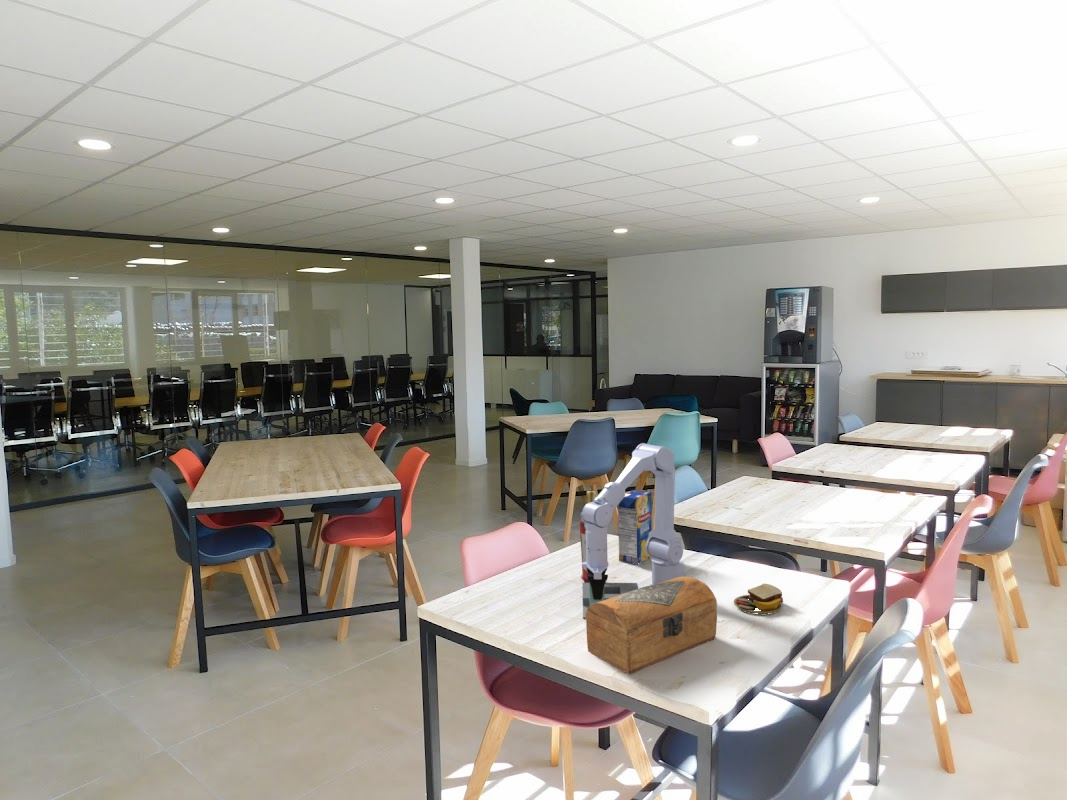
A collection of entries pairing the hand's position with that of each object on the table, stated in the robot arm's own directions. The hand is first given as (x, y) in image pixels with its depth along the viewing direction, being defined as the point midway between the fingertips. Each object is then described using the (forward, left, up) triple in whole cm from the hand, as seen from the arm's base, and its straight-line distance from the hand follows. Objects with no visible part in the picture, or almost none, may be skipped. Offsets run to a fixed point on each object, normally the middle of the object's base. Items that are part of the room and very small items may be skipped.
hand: (597, 595), depth 187 cm
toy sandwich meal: (-44, -5, -5) cm, 45 cm away
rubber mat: (0, 0, -5) cm, 5 cm away
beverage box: (-14, -46, -5) cm, 48 cm away
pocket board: (-4, -10, -5) cm, 12 cm away
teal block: (0, 0, -3) cm, 4 cm away
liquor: (+1, -24, -5) cm, 25 cm away
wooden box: (-13, +19, -5) cm, 24 cm away
